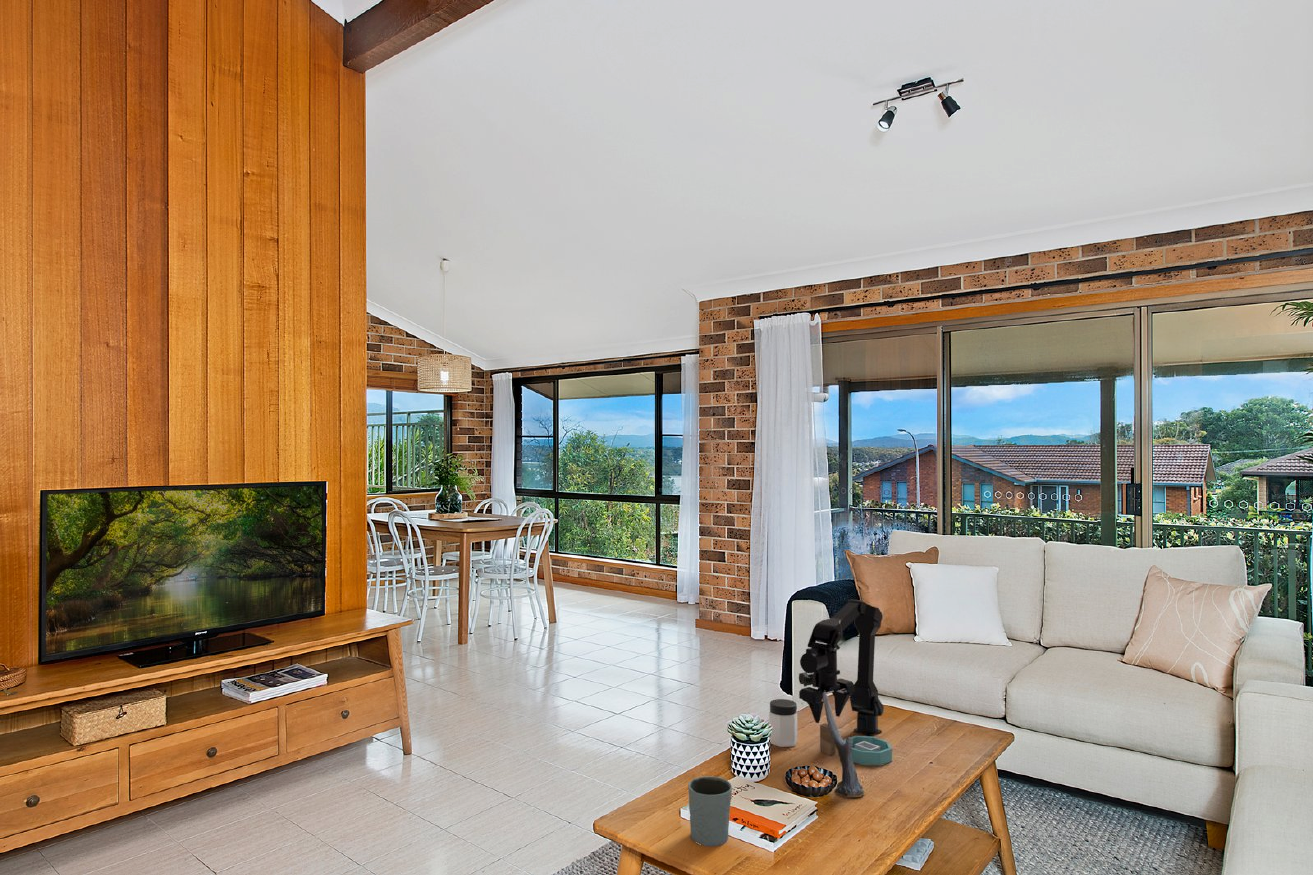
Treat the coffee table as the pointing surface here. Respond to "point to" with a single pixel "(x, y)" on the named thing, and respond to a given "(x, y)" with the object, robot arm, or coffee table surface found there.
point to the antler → (843, 758)
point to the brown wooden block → (826, 740)
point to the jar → (783, 722)
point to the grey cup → (709, 810)
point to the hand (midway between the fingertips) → (827, 719)
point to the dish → (870, 750)
